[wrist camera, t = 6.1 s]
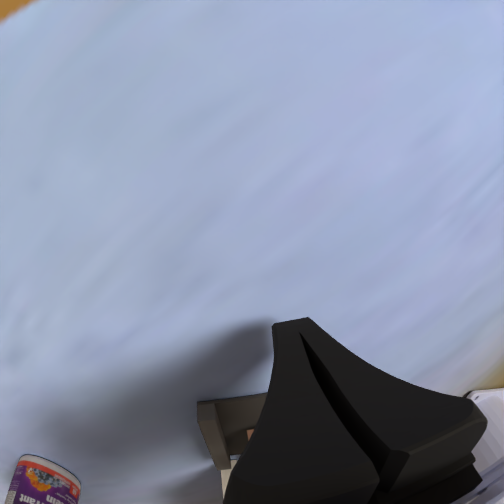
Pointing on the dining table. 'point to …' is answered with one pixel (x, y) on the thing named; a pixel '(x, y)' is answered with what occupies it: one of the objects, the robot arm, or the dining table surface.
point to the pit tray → (228, 425)
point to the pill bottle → (42, 483)
